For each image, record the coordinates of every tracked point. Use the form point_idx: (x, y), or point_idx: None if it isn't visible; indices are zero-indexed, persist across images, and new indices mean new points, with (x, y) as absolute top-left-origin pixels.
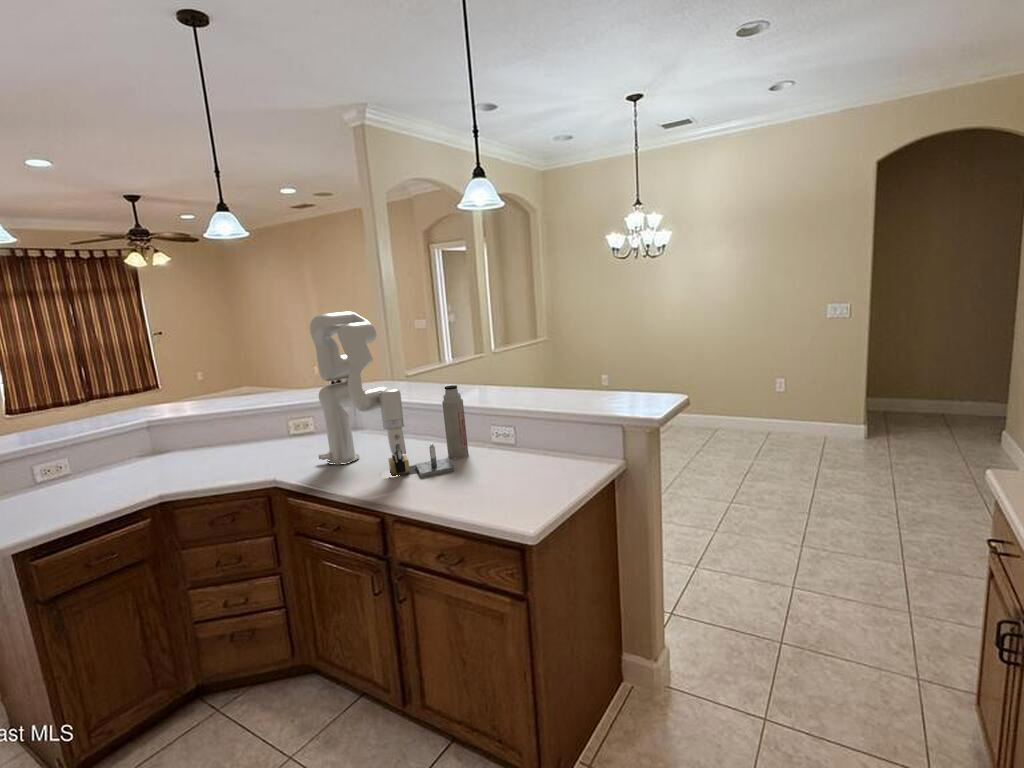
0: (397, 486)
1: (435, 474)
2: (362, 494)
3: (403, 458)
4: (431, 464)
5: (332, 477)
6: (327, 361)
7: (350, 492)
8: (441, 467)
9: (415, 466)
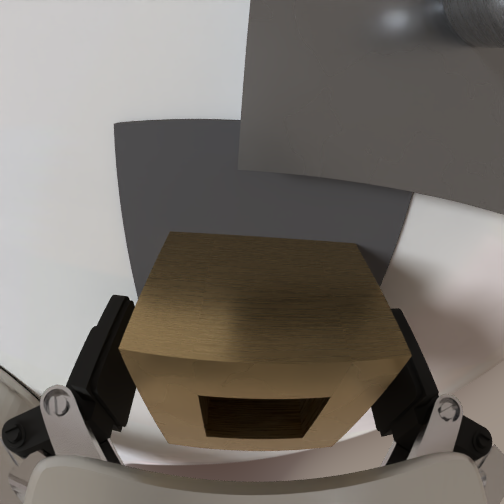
0: (466, 330)
1: None
2: None
3: (460, 422)
4: (488, 46)
5: (151, 444)
6: None
7: (350, 434)
8: None
9: (168, 144)
